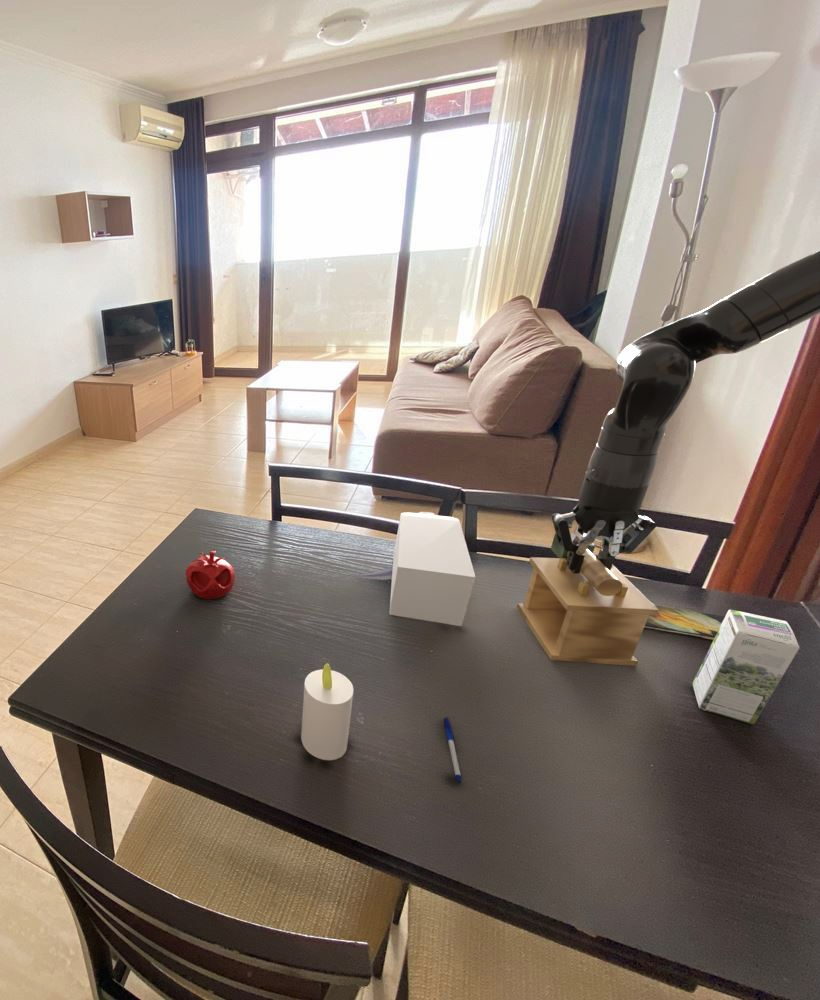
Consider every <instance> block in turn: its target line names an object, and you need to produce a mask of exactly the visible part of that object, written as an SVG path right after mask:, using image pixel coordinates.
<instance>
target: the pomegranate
mask: <svg viewBox="0 0 820 1000" xmlns="http://www.w3.org/2000/svg"><path fill="white" fill-rule="evenodd" d="M216 552H217V550H214V551H213V550H211V551H209V552H208V554H209V555H206V553H204V552H198V555H199V557H198V558H196V559H195V560H193V561H191V562H190V563H189V565H188V566H187V567H186V569H185V577H186V578H185V579H186V580H185V581H186V583H187V585H188V588H189V589H190V591H191V592H192V593H193V594H194V595H195V596H196V597H199V598H201V599H204V600H215V599H220V598H223V597H225V596H226V595H227V594H229V593H230V592H231V591H232V589H233V587H234V583H235V579H236V576H235V574H236V573H235V569H234V567H233V566H232V564H230V563H229V562H228V561H226V560H227V559H228V558H227V557H226V558H225V557H222V556H221V557H217V556H215V555H216Z"/></svg>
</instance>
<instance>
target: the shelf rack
mask: <svg viewBox="0 0 820 1000" xmlns="http://www.w3.org/2000/svg"><path fill="white" fill-rule="evenodd" d="M528 562H529V564H530V565H531V566H532V568H533V569H532V573H531V576H530V579H529V584H528V587H527V591H526V595H525V598H524V602H522V603H521V602H518V603H517V605H516V609H517V610H518V612H519V613H520V615H521V616H522V618H523V619H524V622H525V623H526V624H527V626H528V627H529V628H530V630H531V632H532V633H533V635H534V636H535V638H536V640H537V641H538V643H539V644H540V646H541V647H542V649H543V650H544V652H545V654H546V655H547V657H548V658H549V659H550V660H551V661H559V662H560V661H562V662H573V663H574V662H576V663H577V662H578V663H589V664H601V665H602V664H603V665H615V666H616V665H617V666H631V667H637V665H638V660H637V658H636V657H635V656H634V654H635V651H636V650H637V649H636V648H637V646H638V643H639V641H640V640H641V636H642V633H643V632H644V629H645V628H644V626H645V624H646V621H647V619H648V616H649V615H657V614H658V611H659V610H658V609H657V608H656V607H655V606H656V605H655V604H654V603H653V602H652V601H651V600H649V598H647V597H646V596H645V594H643V593H642V592H641V590H639V589H638V587H637V586H635V585H634V584H633V583H632V582H631V581H630V580H629V579H628V578H627V577H626V576H625V575H624V574H623V573H622V572H621V571H620V570H619V569H618V568H617V567H616V566H615V565H614V564H613V565H612V568H611V570H610V571H611V572H612V573H613V574H614V575H615V576H616V577H617V578H618V579H619V580H620V581H621V583H622V589H621V591H620V592H619V593H617V594H615V595H612V596H604V595H601V594H600V593H599V592H598V591H597V590H596V589H595V588H594V587H593V585H592V584H591V583H590V582H589V581H588V580H587V579H586V578H585V576H584V575H583V574H582V573H581V572H580V573H579V574H576V573H572V572H571V570H570V569H569V568H568V567H567V566H566V559H565V558H560V559H559V558H558V557H538V556H537V557H536V556H535V557H534V556H533V557H532V556H530V557H529V561H528ZM654 605H655V606H654Z"/></svg>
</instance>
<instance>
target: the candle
mask: <svg viewBox="0 0 820 1000" xmlns="http://www.w3.org/2000/svg"><path fill="white" fill-rule="evenodd" d="M303 685H304V687H303V699H302V700H303V701H302V702H303V703H302V718H301V731H300V732H301V733H300V738H301V743H302V744H301V745H302V746H303V748H304V749H305V751H307V752H308V753H309V754H310V755H311V756H313V757H315V758H317V759H319V760H323V761H335V760H338V759H340V758H342V757H343V756H344V755H345V754H346V752H347V749H348V741H349V733H350V725H351V717H352V716H351V715H352V706H353V699H354V686H353V683H352V682H351V681H350V679H349V678H348V677H346V676H345V674H342V673H341V672H339V671H336V670H332V668H331V666H330V664H329V663H325V664H324V666H323V668H322V669H316V670H313V671H311V672H310V673H308V674H307V676H306V677H305V679H304V684H303Z"/></svg>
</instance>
